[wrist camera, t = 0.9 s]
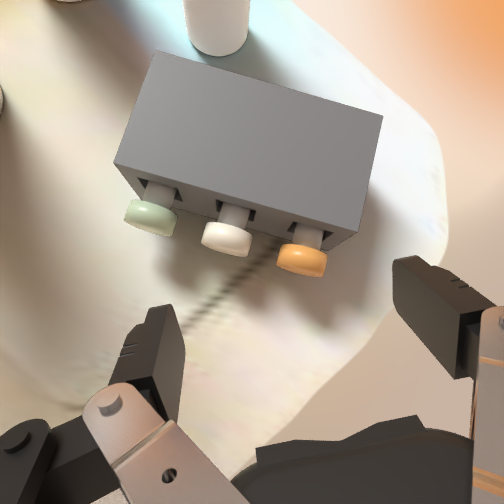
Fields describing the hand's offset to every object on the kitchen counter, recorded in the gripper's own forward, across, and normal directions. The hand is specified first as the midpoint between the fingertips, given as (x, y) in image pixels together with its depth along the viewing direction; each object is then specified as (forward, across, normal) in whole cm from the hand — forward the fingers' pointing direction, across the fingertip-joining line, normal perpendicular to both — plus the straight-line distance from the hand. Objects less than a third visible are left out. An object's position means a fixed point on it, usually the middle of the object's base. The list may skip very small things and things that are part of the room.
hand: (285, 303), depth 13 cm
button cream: (+19, +2, +4) cm, 19 cm away
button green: (+20, +8, +1) cm, 22 cm away
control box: (+24, -1, +1) cm, 24 cm away
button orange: (+18, -4, +6) cm, 19 cm away
